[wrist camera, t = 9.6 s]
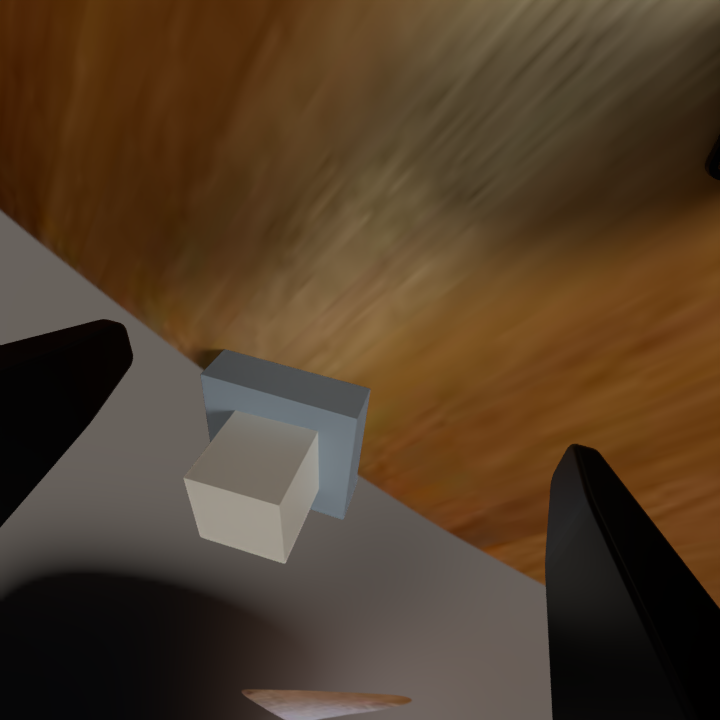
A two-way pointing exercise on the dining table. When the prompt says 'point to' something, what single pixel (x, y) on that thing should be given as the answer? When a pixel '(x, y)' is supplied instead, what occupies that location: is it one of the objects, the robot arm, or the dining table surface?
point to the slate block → (295, 415)
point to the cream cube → (255, 485)
